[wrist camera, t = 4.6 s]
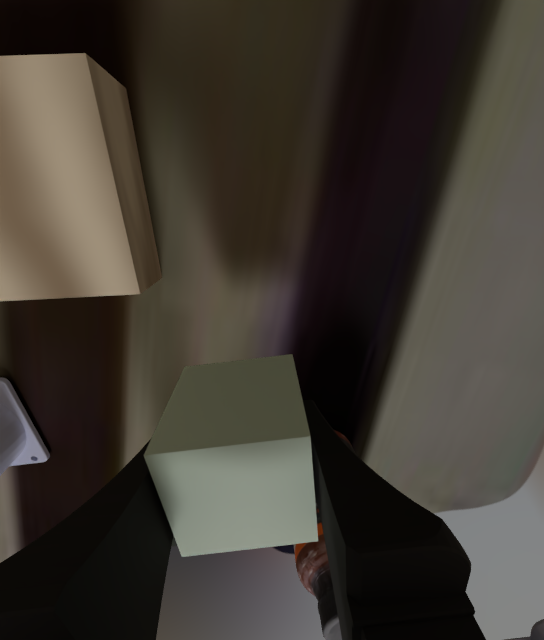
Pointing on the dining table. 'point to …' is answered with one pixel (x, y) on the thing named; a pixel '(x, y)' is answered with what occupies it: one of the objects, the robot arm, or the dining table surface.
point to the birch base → (70, 183)
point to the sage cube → (235, 458)
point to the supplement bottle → (320, 575)
